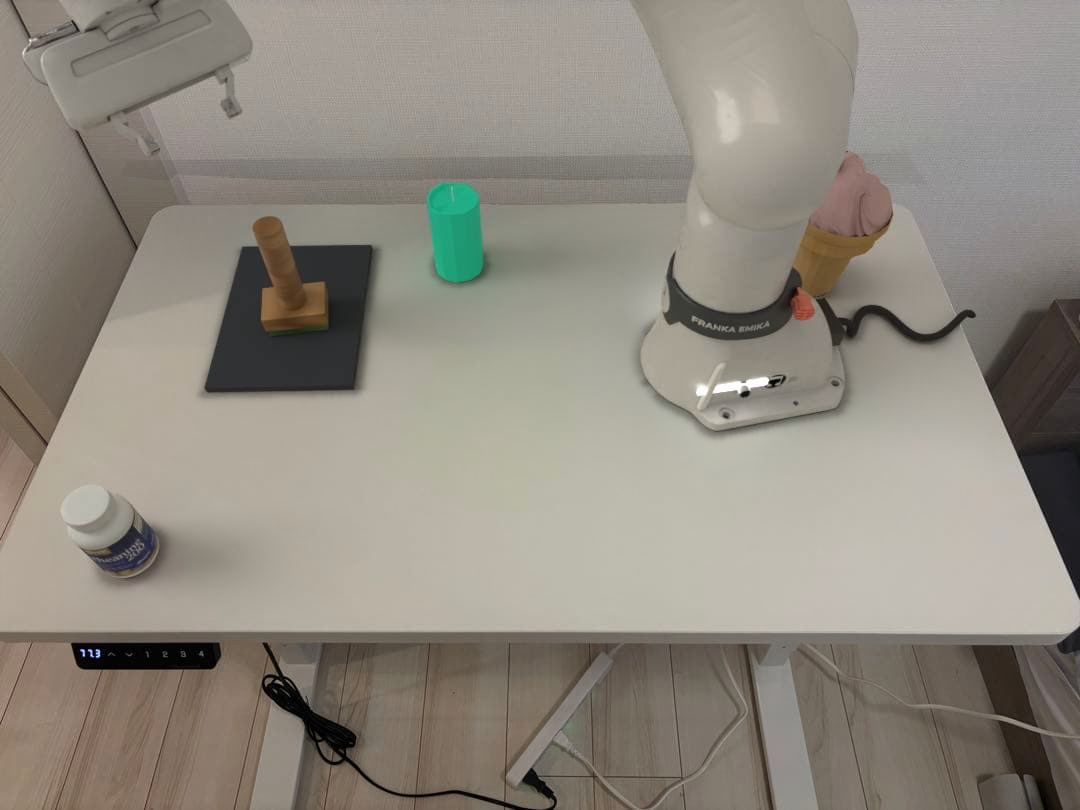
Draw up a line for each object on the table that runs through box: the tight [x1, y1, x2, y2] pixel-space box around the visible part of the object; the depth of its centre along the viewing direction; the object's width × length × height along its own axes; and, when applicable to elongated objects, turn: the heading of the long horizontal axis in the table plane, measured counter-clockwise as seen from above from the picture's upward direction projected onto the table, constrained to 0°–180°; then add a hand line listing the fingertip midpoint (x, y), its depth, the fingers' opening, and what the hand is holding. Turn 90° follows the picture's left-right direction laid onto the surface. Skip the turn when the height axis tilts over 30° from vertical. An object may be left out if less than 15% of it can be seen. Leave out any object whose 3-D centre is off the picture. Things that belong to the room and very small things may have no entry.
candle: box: [426, 182, 485, 283], centre depth 93 cm, size 6×6×12 cm
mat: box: [204, 244, 373, 393], centre depth 93 cm, size 16×22×1 cm
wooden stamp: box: [251, 215, 329, 336], centre depth 86 cm, size 7×5×14 cm
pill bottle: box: [60, 484, 160, 579], centre depth 71 cm, size 5×5×10 cm
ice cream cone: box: [793, 150, 894, 297], centre depth 89 cm, size 11×11×20 cm
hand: (195, 134), depth 83 cm, fingers open, 8 cm apart
